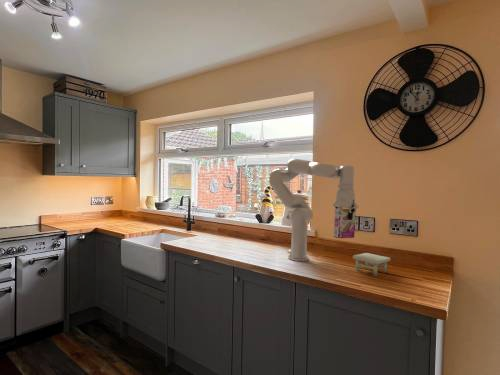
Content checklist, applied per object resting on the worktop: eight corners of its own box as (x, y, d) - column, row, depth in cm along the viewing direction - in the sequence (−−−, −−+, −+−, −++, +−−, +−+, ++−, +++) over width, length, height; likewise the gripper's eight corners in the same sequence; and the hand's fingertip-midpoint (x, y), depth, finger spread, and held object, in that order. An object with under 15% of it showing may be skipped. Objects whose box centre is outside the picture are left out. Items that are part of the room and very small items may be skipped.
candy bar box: (338, 238, 164) (340, 209, 164) (333, 237, 169) (334, 208, 169) (355, 237, 169) (356, 209, 168) (349, 236, 173) (350, 208, 173)
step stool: (352, 270, 163) (352, 255, 163) (365, 266, 172) (366, 252, 172) (376, 276, 152) (377, 261, 152) (389, 272, 161) (390, 257, 161)
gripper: (329, 186, 173) (328, 217, 173) (356, 187, 159) (354, 221, 160) (337, 187, 178) (336, 217, 178) (363, 188, 164) (362, 220, 164)
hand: (345, 218), depth 169 cm, fingers closed on candy bar box, 6 cm apart
